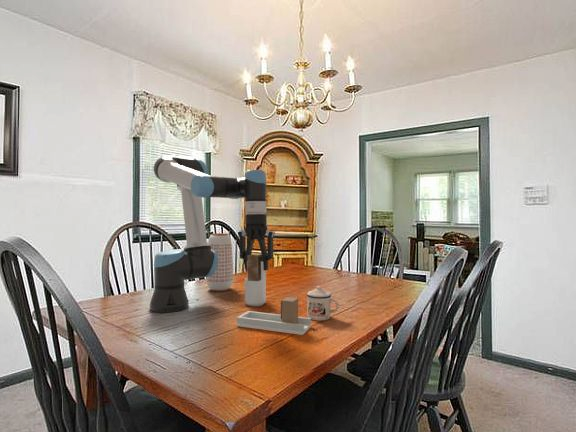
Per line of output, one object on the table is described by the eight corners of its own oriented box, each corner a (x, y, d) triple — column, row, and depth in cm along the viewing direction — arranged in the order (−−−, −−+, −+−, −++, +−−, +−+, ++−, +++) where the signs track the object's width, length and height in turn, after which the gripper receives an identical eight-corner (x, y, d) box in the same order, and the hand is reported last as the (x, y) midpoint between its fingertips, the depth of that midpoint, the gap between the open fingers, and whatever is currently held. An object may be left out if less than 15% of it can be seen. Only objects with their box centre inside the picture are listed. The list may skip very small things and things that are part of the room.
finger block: (247, 280, 125) (247, 255, 125) (253, 278, 130) (253, 253, 130) (259, 281, 124) (259, 255, 124) (265, 279, 128) (265, 254, 128)
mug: (259, 307, 147) (259, 280, 146) (240, 305, 150) (240, 279, 150) (272, 301, 157) (272, 276, 157) (254, 298, 161) (255, 274, 161)
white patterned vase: (230, 292, 173) (230, 234, 173) (203, 292, 173) (203, 234, 173) (235, 286, 187) (235, 233, 186) (209, 286, 187) (209, 232, 186)
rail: (236, 326, 123) (237, 297, 123) (248, 319, 131) (248, 291, 131) (302, 334, 114) (303, 303, 114) (310, 326, 123) (310, 297, 122)
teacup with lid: (303, 319, 131) (303, 287, 131) (310, 312, 139) (310, 283, 139) (335, 323, 127) (336, 290, 127) (340, 316, 135) (341, 285, 135)
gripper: (228, 213, 126) (229, 279, 126) (274, 213, 120) (275, 282, 120) (238, 214, 133) (239, 276, 133) (282, 213, 127) (283, 278, 127)
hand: (256, 278), depth 127 cm, fingers closed on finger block, 5 cm apart
